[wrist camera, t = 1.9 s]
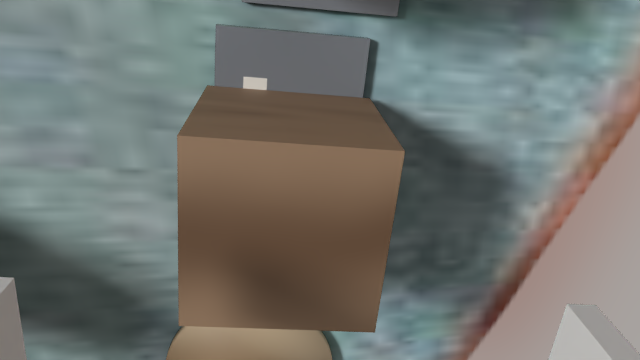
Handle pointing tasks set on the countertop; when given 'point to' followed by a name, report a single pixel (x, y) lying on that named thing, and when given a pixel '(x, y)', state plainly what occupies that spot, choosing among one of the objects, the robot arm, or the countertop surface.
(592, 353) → the robot arm
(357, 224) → the walnut block
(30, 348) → the countertop surface
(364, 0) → the code tile
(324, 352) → the cork coaster
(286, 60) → the tile
